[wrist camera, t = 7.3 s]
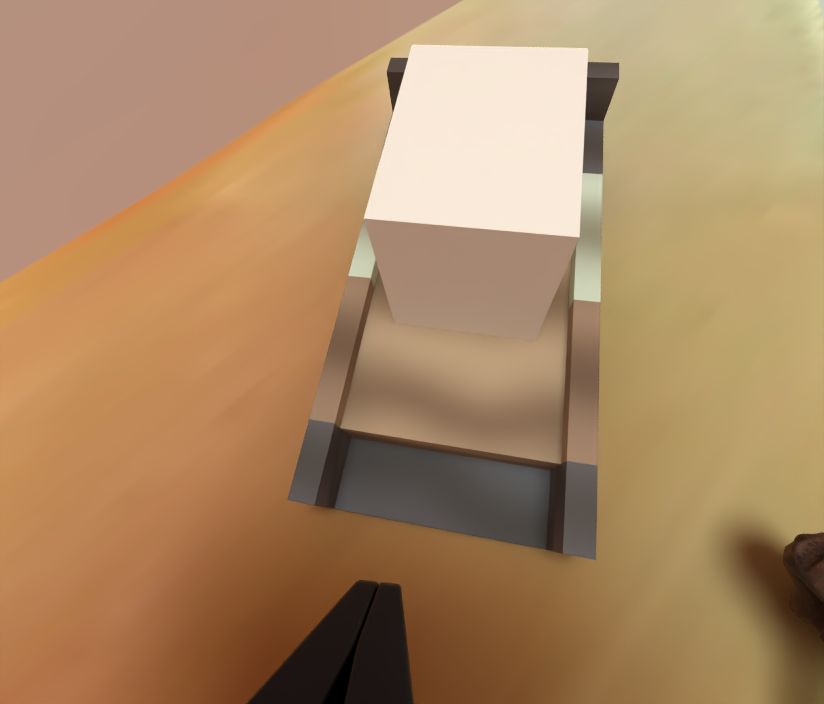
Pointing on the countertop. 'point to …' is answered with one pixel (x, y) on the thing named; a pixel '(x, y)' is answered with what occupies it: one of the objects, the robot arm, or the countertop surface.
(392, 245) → the block
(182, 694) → the countertop surface
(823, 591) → the pottery mug
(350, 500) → the box
